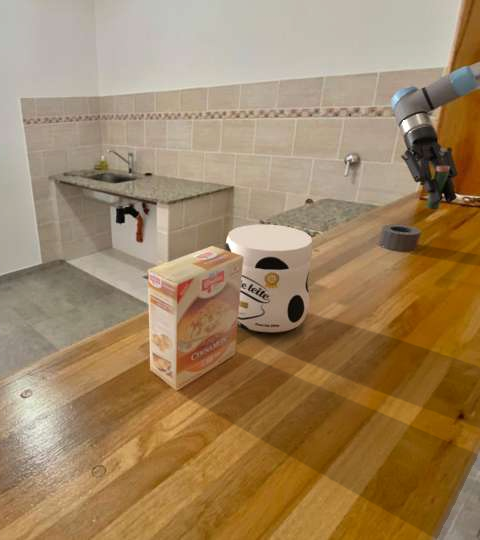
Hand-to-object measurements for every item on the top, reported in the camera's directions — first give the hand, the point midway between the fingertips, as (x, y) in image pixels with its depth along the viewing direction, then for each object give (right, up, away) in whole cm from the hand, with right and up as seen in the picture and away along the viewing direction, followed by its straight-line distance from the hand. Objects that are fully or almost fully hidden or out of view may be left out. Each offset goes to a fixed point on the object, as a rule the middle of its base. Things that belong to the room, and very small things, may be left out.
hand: (445, 200), depth 107 cm
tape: (-11, -12, +3) cm, 17 cm away
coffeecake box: (-78, -36, -39) cm, 94 cm away
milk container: (-62, -30, -27) cm, 74 cm away
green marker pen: (0, -1, +5) cm, 5 cm away
